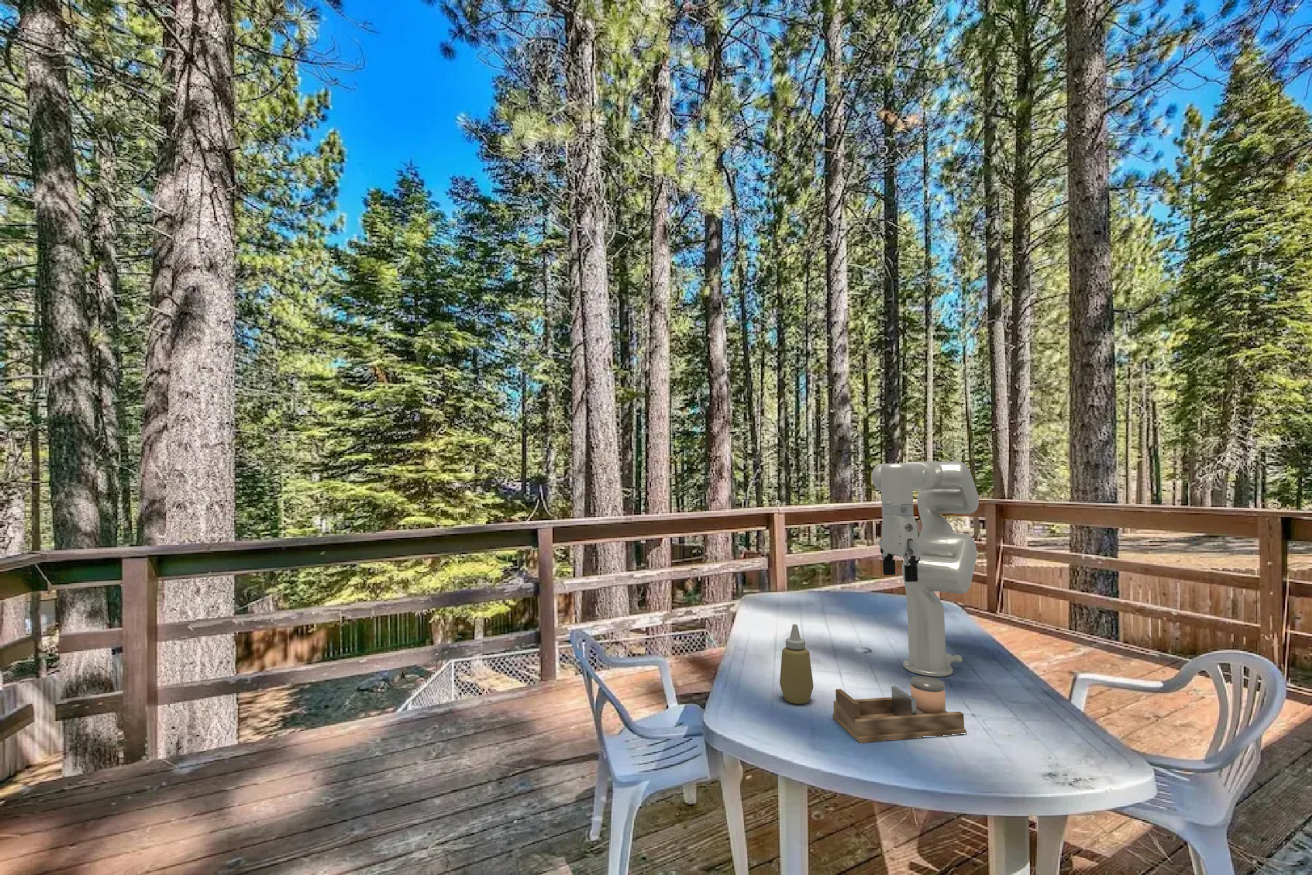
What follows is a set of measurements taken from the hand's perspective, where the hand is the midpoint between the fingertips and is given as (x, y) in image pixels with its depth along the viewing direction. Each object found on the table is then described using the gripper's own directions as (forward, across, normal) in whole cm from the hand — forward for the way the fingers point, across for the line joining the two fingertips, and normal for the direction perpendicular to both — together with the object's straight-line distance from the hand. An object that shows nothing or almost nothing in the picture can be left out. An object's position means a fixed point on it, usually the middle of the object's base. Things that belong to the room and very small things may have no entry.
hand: (900, 578), depth 143 cm
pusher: (+27, -18, +10) cm, 34 cm away
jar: (+27, -18, +5) cm, 33 cm away
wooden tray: (+28, -18, +12) cm, 36 cm away
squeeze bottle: (+28, -1, +29) cm, 41 cm away
